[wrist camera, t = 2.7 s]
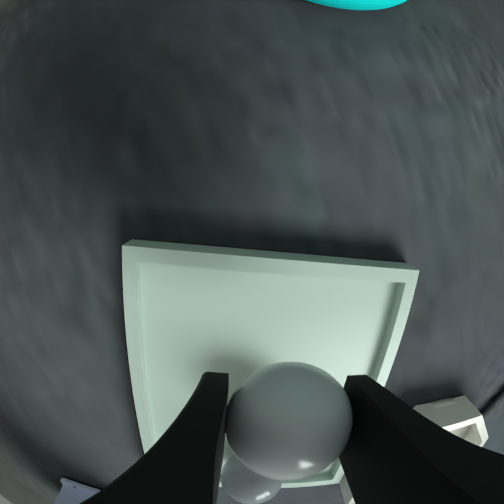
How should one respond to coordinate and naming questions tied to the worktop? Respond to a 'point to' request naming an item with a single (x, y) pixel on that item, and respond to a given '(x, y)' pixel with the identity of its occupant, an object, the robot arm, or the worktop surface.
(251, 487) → the pebble slate
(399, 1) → the donuts
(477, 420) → the stoneware bowl
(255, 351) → the parts tray
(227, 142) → the worktop surface
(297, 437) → the pebble grey
